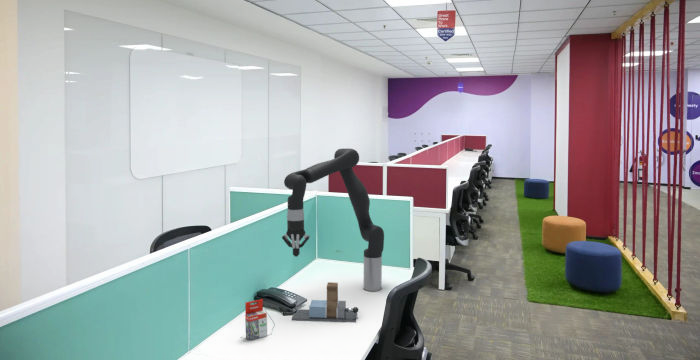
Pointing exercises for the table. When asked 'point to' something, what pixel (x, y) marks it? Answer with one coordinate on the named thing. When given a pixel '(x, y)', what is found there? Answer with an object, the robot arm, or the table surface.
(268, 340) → the table surface
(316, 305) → the sliding jaw
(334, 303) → the walnut block
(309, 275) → the table surface
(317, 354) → the table surface
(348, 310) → the vise
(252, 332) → the ink box
